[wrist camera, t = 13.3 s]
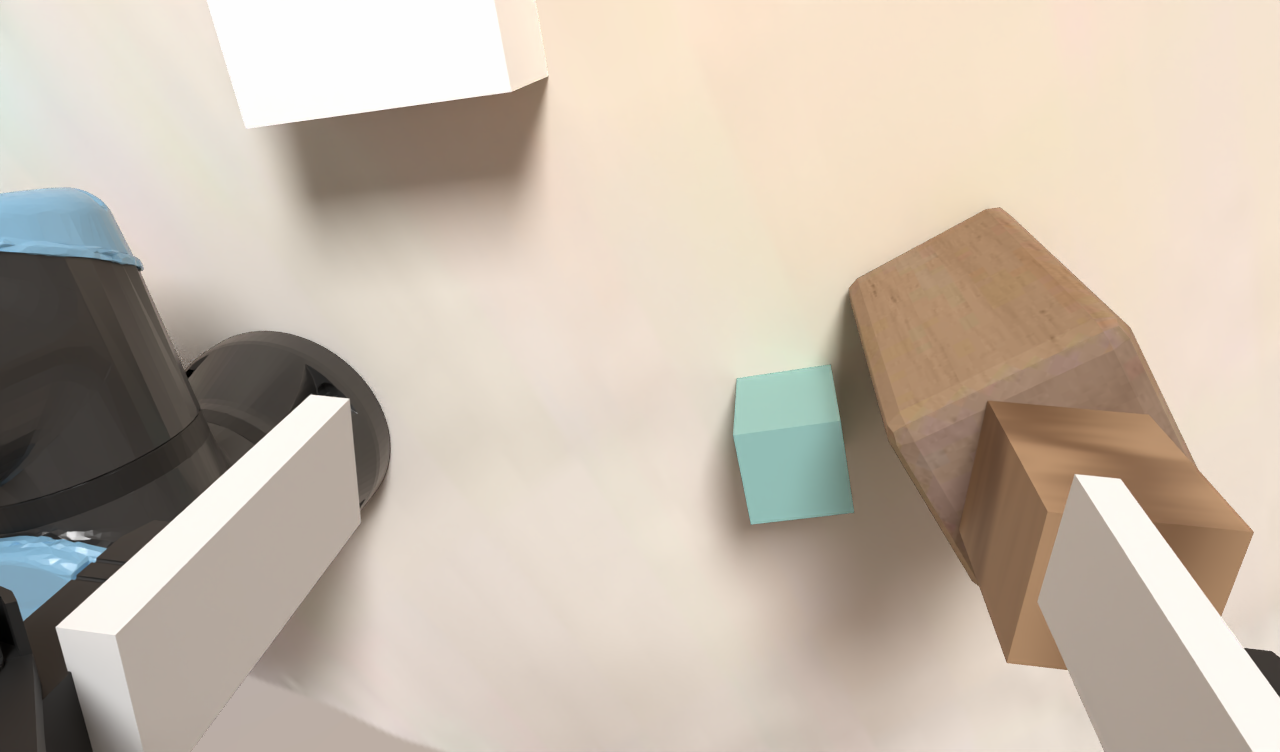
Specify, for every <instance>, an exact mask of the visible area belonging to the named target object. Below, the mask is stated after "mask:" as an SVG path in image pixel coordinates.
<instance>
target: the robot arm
mask: <svg viewBox="0 0 1280 752" xmlns="http://www.w3.org/2000/svg"><path fill="white" fill-rule="evenodd" d="M143 270H144V268H143V265H142V263H141V261H140V260H139V259H138V258H136V257H135V256H133V254H132V252H131V250H130V248H129V246H128V244H127V242H126V240H125V238H124V237H123V235H122V233H121V231H120V229H119V227H118V225H117V223H116V221H115V219H114V217H113V215H112V213H111V211H110V210H109V208H108V207H107V206H106V205H105V204H104V203H103V202H102V201H101V200H100V199H99V198H97V197H96V196H94V195H92V194H90V193H88V192H86V191H83V190H80V189H75V188H66V187H63V188H47V189H36V190H26V191H18V192H9V193H1V194H0V752H191V751H192V750H193V748H194V747H195V746H196V744H197V743H198V742H199V740H200V739H201V737H202V736H203V735H204V733H205V732H206V731H207V729H208V728H209V727H210V725H211V724H212V723H213V721H214V720H215V719H216V717H217V716H218V715H219V713H220V712H221V710H222V709H223V708H224V707H225V705H226V704H227V703H228V701H229V700H230V698H231V697H232V696H233V694H234V693H235V692H236V690H237V689H238V688H239V686H240V685H241V684H242V682H243V681H244V680H245V678H246V677H247V676H248V674H249V673H250V672H251V670H252V669H253V667H254V666H255V665H256V663H257V662H258V661H259V659H260V658H261V657H262V655H263V654H264V653H265V651H266V650H267V649H268V647H269V646H270V645H271V643H272V642H273V641H274V639H275V638H276V636H277V635H278V634H279V632H280V631H281V630H282V628H283V627H284V626H285V624H286V623H287V622H288V620H289V619H290V618H291V616H292V615H293V614H294V612H295V611H296V610H297V608H298V607H299V605H300V604H301V603H302V601H303V600H304V599H305V597H306V596H307V595H308V593H309V592H310V591H311V589H312V588H313V587H314V585H315V584H316V583H317V581H318V580H319V579H320V577H321V576H322V574H323V573H324V572H325V570H326V569H327V568H328V566H329V565H330V564H331V562H332V561H333V560H334V558H335V557H336V556H337V554H338V553H339V552H340V550H341V549H342V548H343V546H344V545H345V543H346V542H347V541H348V539H349V538H350V537H351V535H352V534H353V533H354V531H355V530H356V529H357V527H358V526H359V525H360V523H361V516H360V511H361V509H362V508H363V507H364V506H365V505H366V503H367V502H368V501H369V500H370V498H371V497H372V496H373V494H374V493H375V492H376V490H377V489H378V487H379V486H380V484H381V482H382V481H383V478H384V476H385V474H386V470H387V467H388V463H389V456H390V439H389V432H388V427H387V423H386V420H385V417H384V414H383V412H382V409H381V407H380V405H379V403H378V401H377V399H376V397H375V396H374V394H373V392H372V391H371V389H370V388H369V387H368V385H367V384H366V383H365V381H364V380H363V379H362V378H361V377H360V376H359V374H358V373H357V372H356V371H355V370H354V369H353V368H352V367H351V366H350V365H348V364H347V363H346V362H345V361H344V360H342V359H341V358H340V357H338V356H337V355H336V354H334V353H333V352H331V351H329V350H328V349H326V348H324V347H323V346H321V345H319V344H317V343H315V342H312V341H310V340H307V339H305V338H302V337H299V336H295V335H292V334H287V333H282V332H274V331H256V332H248V333H243V334H239V335H236V336H233V337H230V338H228V339H226V340H224V341H222V342H220V343H219V344H217V345H216V346H214V347H213V348H211V349H209V350H208V351H206V352H205V353H203V354H202V355H201V356H199V357H198V358H197V359H196V360H194V361H193V362H192V363H191V364H190V365H189V366H188V367H187V368H186V369H185V371H184V369H183V367H182V364H181V362H180V360H179V358H178V355H177V353H176V351H175V349H174V346H173V344H172V342H171V340H170V337H169V335H168V333H167V331H166V329H165V326H164V324H163V322H162V320H161V317H160V315H159V313H158V311H157V308H156V306H155V304H154V302H153V299H152V297H151V295H150V293H149V290H148V288H147V286H146V284H145V282H144V279H143V277H142V275H141V273H140V271H143ZM1037 602H1038V605H1039V607H1040V609H1041V611H1042V613H1043V616H1044V618H1045V620H1046V622H1047V625H1048V627H1049V629H1050V631H1051V634H1052V636H1053V638H1054V640H1055V642H1056V645H1057V647H1058V649H1059V651H1060V654H1061V656H1062V658H1063V660H1064V663H1065V665H1066V667H1067V669H1068V671H1069V674H1070V676H1071V678H1072V680H1073V683H1074V685H1075V687H1076V689H1077V692H1078V694H1079V696H1080V698H1081V700H1082V703H1083V705H1084V707H1085V709H1086V712H1087V714H1088V716H1089V718H1090V721H1091V723H1092V725H1093V727H1094V730H1095V732H1096V734H1097V736H1098V738H1099V741H1100V743H1101V745H1102V747H1103V750H1104V752H1280V657H1278V656H1277V655H1276V654H1275V653H1273V652H1272V651H1265V650H1256V649H1248V648H1243V646H1242V645H1241V644H1240V642H1239V641H1238V640H1237V638H1236V637H1235V635H1234V634H1233V633H1232V631H1231V630H1230V629H1229V627H1228V626H1227V624H1226V623H1225V622H1224V620H1223V619H1222V618H1221V616H1220V615H1219V613H1218V612H1217V611H1216V609H1215V608H1214V607H1213V605H1212V604H1211V602H1210V601H1209V600H1208V598H1207V597H1206V596H1205V594H1204V593H1203V591H1202V590H1201V589H1200V587H1199V586H1198V585H1197V583H1196V582H1195V580H1194V579H1193V578H1192V576H1191V575H1190V574H1189V572H1188V571H1187V569H1186V568H1185V567H1184V565H1183V564H1182V563H1181V561H1180V560H1179V558H1178V557H1177V556H1176V554H1175V553H1174V552H1173V550H1172V549H1171V548H1170V546H1169V545H1168V543H1167V542H1166V541H1165V539H1164V538H1163V537H1162V535H1161V534H1160V532H1159V531H1158V530H1157V528H1156V527H1155V526H1154V524H1153V523H1152V521H1151V520H1150V519H1149V517H1148V516H1147V515H1146V513H1145V512H1144V510H1143V509H1142V508H1141V506H1140V505H1139V504H1138V502H1137V501H1136V499H1135V498H1134V497H1133V495H1132V494H1131V493H1130V491H1129V490H1128V488H1127V487H1126V486H1125V484H1124V483H1123V482H1122V480H1121V479H1117V478H1108V477H1098V476H1088V475H1079V474H1075V475H1074V478H1073V482H1072V485H1071V488H1070V492H1069V495H1068V499H1067V502H1066V505H1065V509H1064V512H1063V516H1062V519H1061V522H1060V526H1059V529H1058V533H1057V536H1056V540H1055V543H1054V546H1053V550H1052V553H1051V557H1050V560H1049V563H1048V567H1047V570H1046V574H1045V577H1044V580H1043V584H1042V587H1041V591H1040V594H1039V598H1038V601H1037Z"/></svg>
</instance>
